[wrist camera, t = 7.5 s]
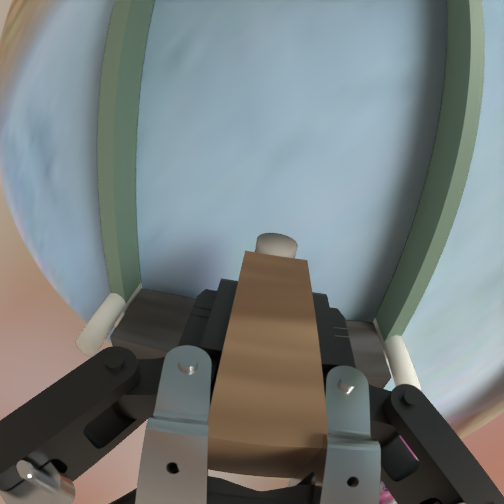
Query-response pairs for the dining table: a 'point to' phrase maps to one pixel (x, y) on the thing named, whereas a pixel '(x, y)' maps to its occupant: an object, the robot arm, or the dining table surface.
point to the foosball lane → (425, 222)
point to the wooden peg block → (259, 362)
